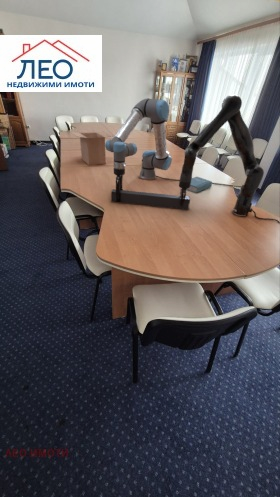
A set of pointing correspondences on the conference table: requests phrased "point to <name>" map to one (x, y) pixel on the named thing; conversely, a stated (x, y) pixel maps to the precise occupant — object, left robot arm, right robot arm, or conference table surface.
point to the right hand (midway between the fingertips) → (181, 203)
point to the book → (199, 184)
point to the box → (92, 146)
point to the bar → (150, 199)
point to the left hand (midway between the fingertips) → (119, 200)
